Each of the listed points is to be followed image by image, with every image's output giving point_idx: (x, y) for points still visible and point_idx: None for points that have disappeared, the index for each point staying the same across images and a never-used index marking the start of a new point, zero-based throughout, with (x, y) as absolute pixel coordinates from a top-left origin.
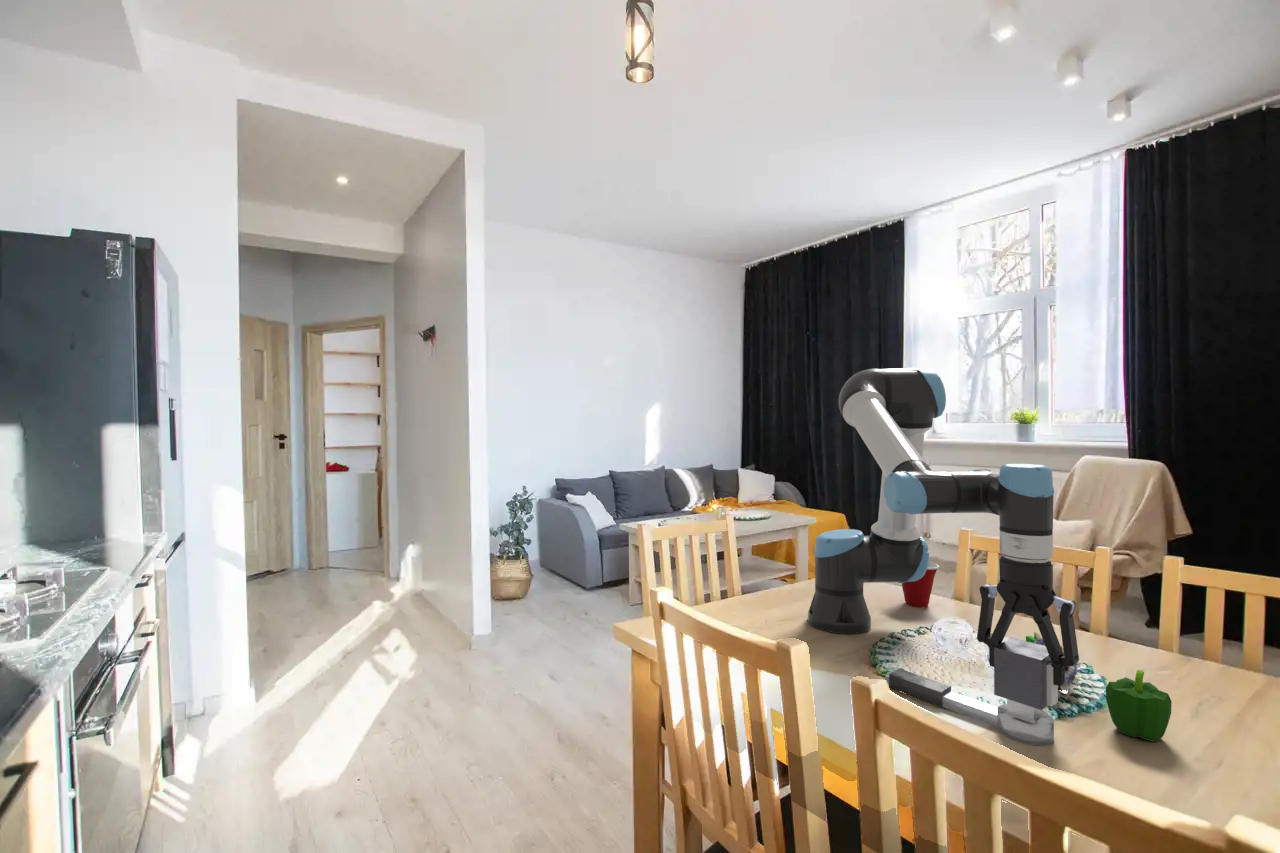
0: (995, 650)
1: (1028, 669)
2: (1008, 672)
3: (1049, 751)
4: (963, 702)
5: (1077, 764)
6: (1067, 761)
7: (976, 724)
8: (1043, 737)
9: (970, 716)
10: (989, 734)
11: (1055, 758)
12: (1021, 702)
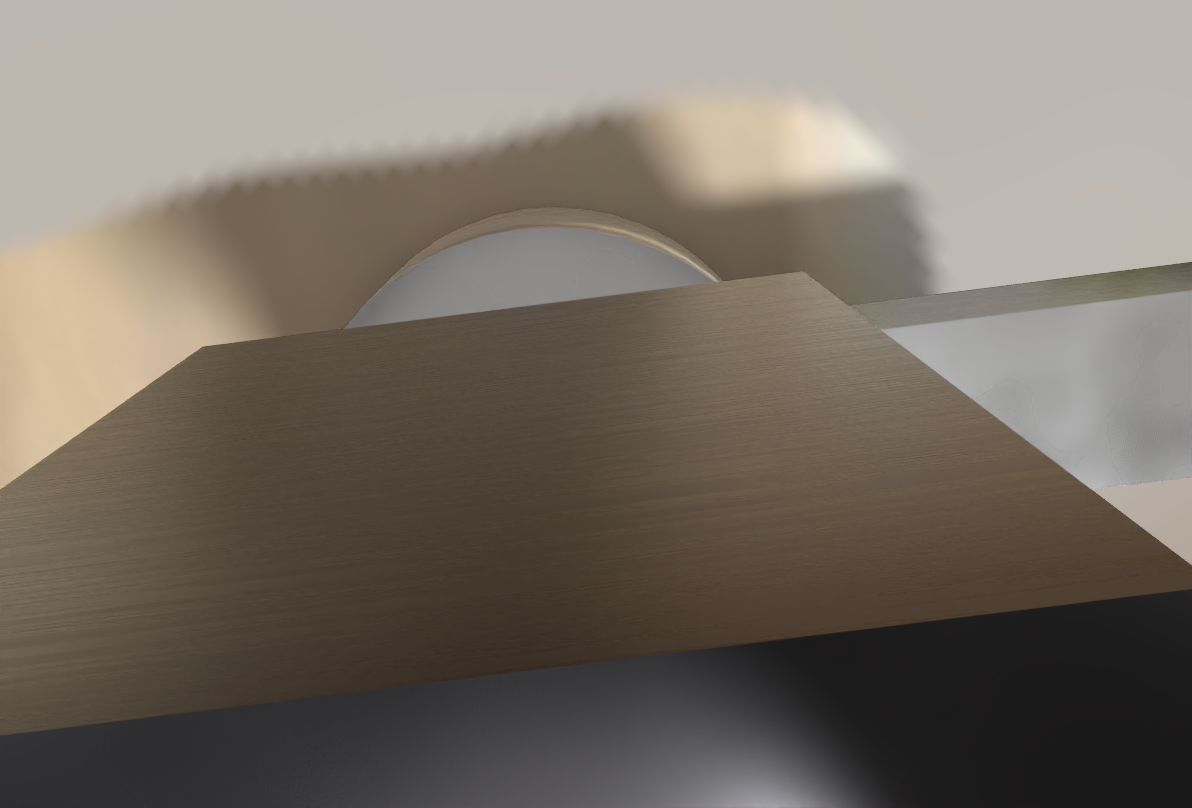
0: (1107, 539)
1: (183, 535)
2: (638, 403)
3: (270, 285)
4: (1128, 326)
5: (34, 270)
6: (100, 247)
7: (891, 199)
8: None
9: (997, 290)
10: (722, 116)
11: (176, 208)
12: (447, 319)
